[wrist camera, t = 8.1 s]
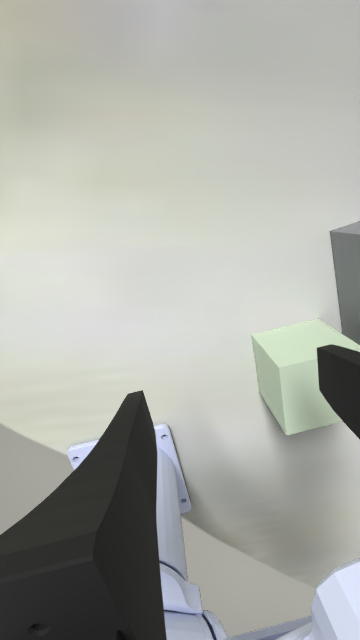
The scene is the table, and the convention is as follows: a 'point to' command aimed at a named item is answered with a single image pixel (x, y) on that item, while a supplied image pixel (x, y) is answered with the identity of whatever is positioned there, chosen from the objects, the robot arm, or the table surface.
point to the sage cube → (296, 373)
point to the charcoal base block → (348, 277)
